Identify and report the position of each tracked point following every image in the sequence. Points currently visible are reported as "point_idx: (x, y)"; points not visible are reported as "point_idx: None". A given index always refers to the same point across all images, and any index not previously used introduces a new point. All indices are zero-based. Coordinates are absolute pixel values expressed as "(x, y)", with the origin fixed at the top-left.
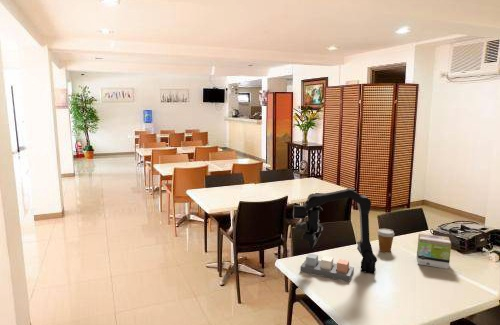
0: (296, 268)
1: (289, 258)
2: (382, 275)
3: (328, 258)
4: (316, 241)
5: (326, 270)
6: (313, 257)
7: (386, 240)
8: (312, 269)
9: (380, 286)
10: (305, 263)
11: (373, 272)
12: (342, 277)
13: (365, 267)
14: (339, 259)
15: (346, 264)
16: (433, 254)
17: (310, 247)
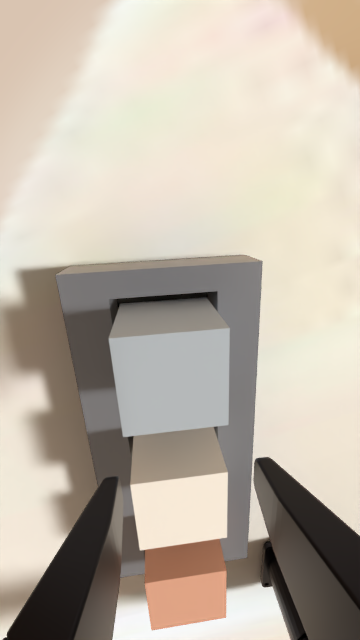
0: (111, 210)
1: (290, 43)
2: (262, 601)
3: (195, 516)
4: (306, 628)
5: (112, 467)
6: (143, 410)
7: None
8: (79, 378)
9: None
10: (143, 293)
11: (269, 583)
12: None
13: (278, 581)
14: (217, 575)
15: (151, 627)
16: None
17: (92, 511)
